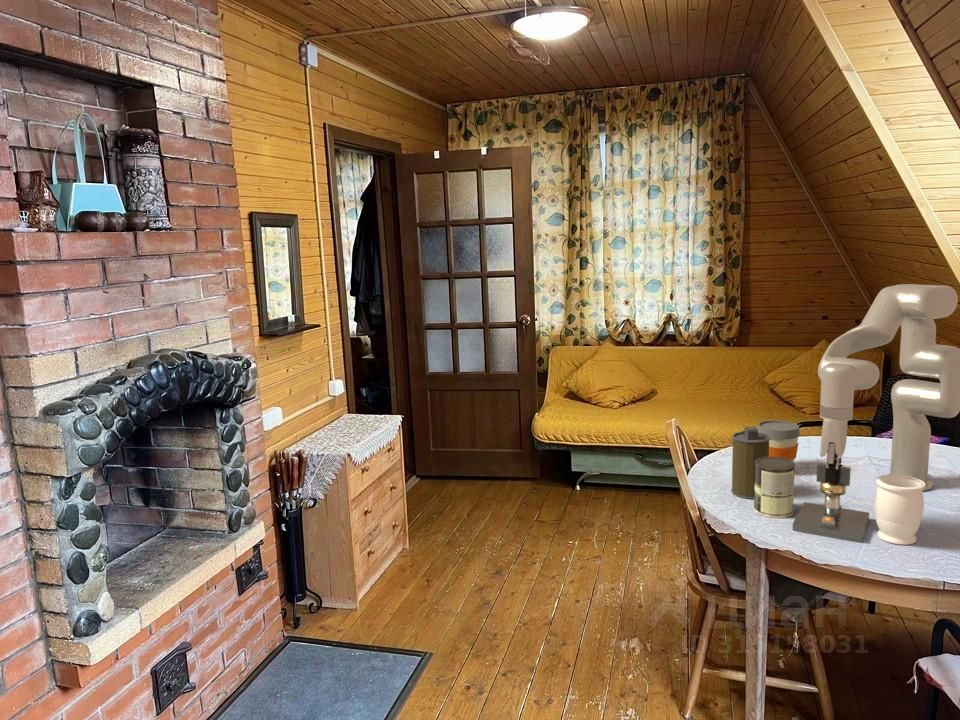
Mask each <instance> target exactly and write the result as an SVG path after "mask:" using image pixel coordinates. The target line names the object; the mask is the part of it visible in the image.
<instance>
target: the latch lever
mask: <svg viewBox="0 0 960 720" xmlns="http://www.w3.org/2000/svg"><path fill="white" fill-rule="evenodd" d="M816 466H817V467H816V482H818V483H820V484H819V491H820V493H822V494H824V495H825V494H827V495H829V496H832V495H833V496H840V497H841V496H845V495H846V491H847V490H846V489H847V486H848V487H849V486H850V485H851V471H852V470H851V467H849V466H843V465H842V466H839V468H838V469H840V475H839V484H833V483H826V482H825V472H826V463H817V465H816Z"/></svg>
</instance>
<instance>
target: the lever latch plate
mask: <svg viewBox="0 0 960 720" xmlns="http://www.w3.org/2000/svg"><path fill="white" fill-rule="evenodd" d="M869 522H870V512H869V511H867V512H866V511H864V510H863V511H861V510H856V509H855V510H854V509H850V508H842V504H841V495H840V496H833V495H832V496H829V495H827V494H824V504H818V503H810V502H805V501H804V502H803V503H802V506H801V507H800V510H798V513H797V514H796V516H795V519H794V520H793V522H792V531H794V532H798V533H805V534H810V535H817V536H822V537H826V538H827V537H828V538H832V539H838V540H842V541H843V540H844V541H850V542H854V543H859V544H862V543H863V541H862V540H864V538H863V537H865V535H866V530H867V527H868V524H869Z"/></svg>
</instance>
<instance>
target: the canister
mask: <svg viewBox="0 0 960 720" xmlns="http://www.w3.org/2000/svg"><path fill="white" fill-rule="evenodd" d="M757 428H758V427H757V426H755V425H754V426H744V429H743V430H741V431H738V432H735V433H733V434H732V435H731V438H732V456H731V457H732V459H731V460H732V461H731V462H732V465H731V466H732V467H731V469H732V471H731V473H732V474H731V489H730V492H731V491H732V492H731V494H732V493H733V494H732V495H733V496H735V495H736V497H738V496H739V497H738V498H740V497H742V499H745V500H754V489H755V460H756V459H758V458H762V457H769V440H770V437H769V436H768V435H766V434H763V433H759V432H758V429H757Z"/></svg>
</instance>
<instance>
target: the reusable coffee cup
mask: <svg viewBox="0 0 960 720" xmlns="http://www.w3.org/2000/svg"><path fill="white" fill-rule="evenodd" d="M756 428H757V429H758V432H759V433H763V434H766V435H768V436H769V437H770V440H769V457H780V458H785V459H789V460H791V461H793V462H794V463H795V459H796V458H797V454H798V450H799V449H798V448H799V443H798V441H799V437H800V426H799V425H798V424H797V423H794V422H792V421H787V420H780V419H779V420H778V419H777V420H776V419H769V420H763V421H760V422H758V424H757V427H756Z"/></svg>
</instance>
